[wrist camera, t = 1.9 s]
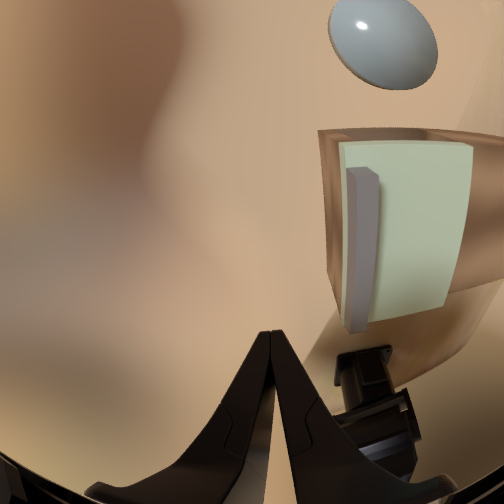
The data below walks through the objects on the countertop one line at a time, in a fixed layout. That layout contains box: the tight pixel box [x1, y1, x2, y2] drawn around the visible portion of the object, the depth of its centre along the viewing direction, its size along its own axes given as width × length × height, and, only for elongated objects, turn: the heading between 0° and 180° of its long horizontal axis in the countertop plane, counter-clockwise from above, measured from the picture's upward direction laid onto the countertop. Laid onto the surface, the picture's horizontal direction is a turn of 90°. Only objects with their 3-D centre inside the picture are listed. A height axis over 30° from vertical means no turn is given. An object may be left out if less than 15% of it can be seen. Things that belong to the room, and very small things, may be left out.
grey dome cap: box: [328, 0, 438, 90], centre depth 11 cm, size 8×8×1 cm
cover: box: [338, 140, 473, 334], centre depth 13 cm, size 11×8×2 cm
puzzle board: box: [318, 128, 504, 313], centre depth 15 cm, size 11×19×5 cm, turn 100°
